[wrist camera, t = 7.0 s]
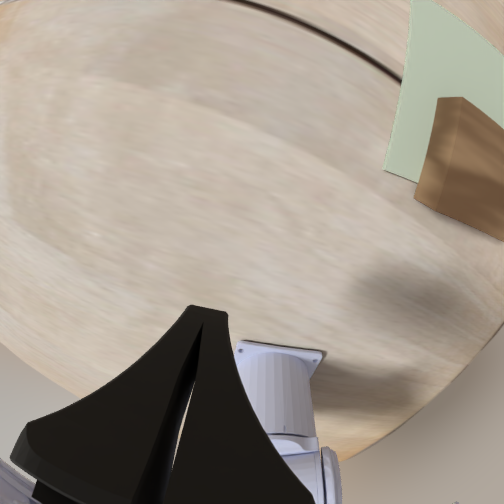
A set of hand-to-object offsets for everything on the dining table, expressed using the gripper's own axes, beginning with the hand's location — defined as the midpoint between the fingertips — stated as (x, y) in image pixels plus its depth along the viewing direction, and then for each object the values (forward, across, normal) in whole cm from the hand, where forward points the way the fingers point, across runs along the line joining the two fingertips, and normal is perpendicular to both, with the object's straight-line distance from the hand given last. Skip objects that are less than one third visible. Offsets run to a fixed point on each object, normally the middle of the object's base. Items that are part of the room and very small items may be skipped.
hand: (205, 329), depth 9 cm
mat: (+10, -17, -14) cm, 25 cm away
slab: (+8, -17, -5) cm, 20 cm away
